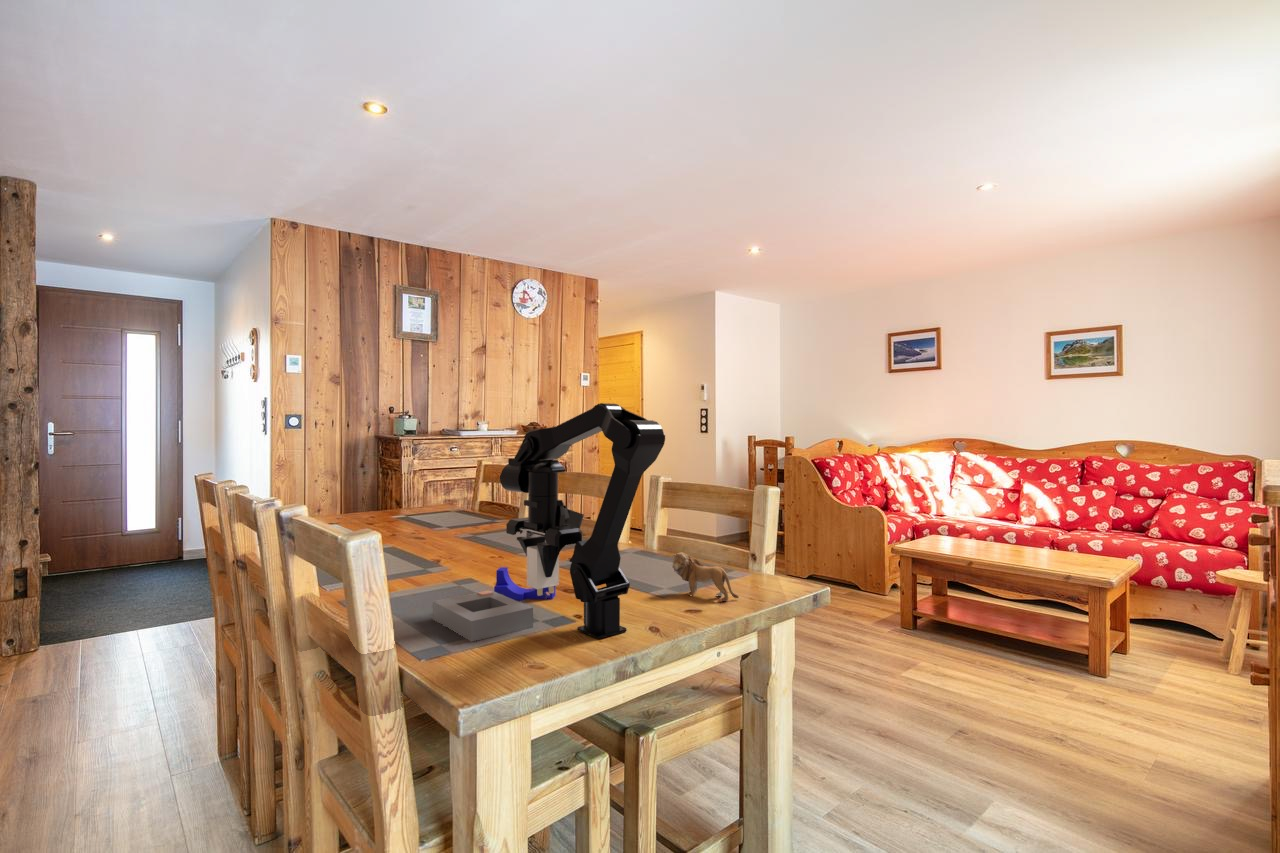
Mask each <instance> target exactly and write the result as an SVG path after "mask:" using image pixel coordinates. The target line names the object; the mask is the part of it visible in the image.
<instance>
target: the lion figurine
mask: <svg viewBox="0 0 1280 853" xmlns="http://www.w3.org/2000/svg"><path fill="white" fill-rule="evenodd" d="M671 567H672V569H673V570H674V571H673V572H675V573H676V574H677V575H678V576H679V577H681V579H682V580H683V581H685V582H688V586H689V590H690V591H691V592H690V591H689V592H688V593H687V594H688V595H693V596H695V594H696V593H697V590H698V583H701V584H710V583H712V582H713V584H714V586H715V587H716V589H718V591H719V592H717V593H716V595H718V596H721V601H722V602H723V601H726V602H728V601H729V593H730V594H731V596H732V597H733V598H735V599H740V598H739V597H740V596H739V595H737V594H736V593H734V592H733V590H732V587H731V584H730V579H729V577H728V573H727V572H726V571H725V569H724V568H722V567H720V566H705V565H703V564H702V563H701V562H700V560H698V559H697V558H695V557H693V556H692V555H691V554H687V553H685V552H678V553H675V554H674V555H673V563H672V566H671ZM725 581H726V584H727V588H728V590H729V593H728V590H727V588H726V587H725V585H724V584H725ZM695 592H696V593H695ZM688 595H687V596H688ZM718 596H717V597H718Z"/></svg>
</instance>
